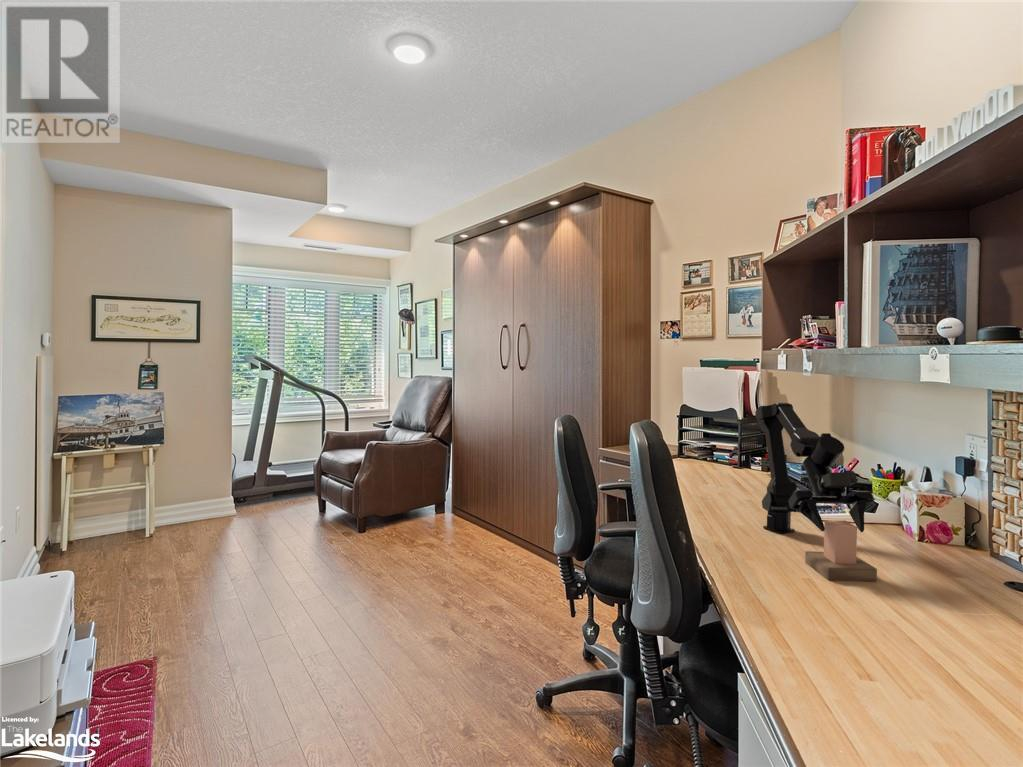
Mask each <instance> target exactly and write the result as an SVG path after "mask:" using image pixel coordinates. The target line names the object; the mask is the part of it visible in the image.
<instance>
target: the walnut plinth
mask: <svg viewBox="0 0 1023 767" xmlns="http://www.w3.org/2000/svg"><path fill="white" fill-rule="evenodd" d="M804 556H805V557H804V559H805V561H804V563H805V564H806V565H808V566H809V567H810V568H812V569H813V570H814V571H815V572H817V573H818V574H820V575H821V577H823V578H825V579H826V580H827V581H841V582H842V581H843V582H847V581H848V582H877V581H878V578H877V577H878V568H876V567H875V566H873V565H871V564H869V563H868V562H867V561H865V560H863V559H862V558H860V557H858V556H857V555H856V564H842V563H834V562H832V561H831V560H829V559H828V558H826V557H825V556H824V551H815V550H814V551H811V550H807V551H805V555H804Z"/></svg>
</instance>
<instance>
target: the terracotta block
mask: <svg viewBox="0 0 1023 767" xmlns="http://www.w3.org/2000/svg"><path fill="white" fill-rule="evenodd" d="M823 524H824V528H825V530H824V531H823V552H824V556H825V557H826V558H828V559H829V560H831V561H832V562H834V563H842V564H856V556H857V548H858V547H857V546H858V545H857V544H858V540H857V539H858V528H857V526H856V525H854V524H852V523H850V522H848V521H847V520H829V519H827V520H826V519H825V520H824V522H823Z"/></svg>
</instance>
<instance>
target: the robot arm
mask: <svg viewBox="0 0 1023 767" xmlns="http://www.w3.org/2000/svg"><path fill="white" fill-rule="evenodd" d="M793 406H794V405H792V403H789V402H775V403H773V404H769V405H759V407H758V408H757V409H756V410H755V413H754V414H755V419H756V421H757V424H758V428H759V429H760V430H761V431H762V432H763V433H764V435H765V436H764V437H765V443H766V451H767V458H768V464H769V472H770V473H769V474H770V481H769V482H768V484H767V487H766V494H764V497H763V498H762V499H761V506H762V509H764V510H765V511H767V515H766V525H763V527H762V528H763V529H766V530H769V531H771V532H775V533H776V534H782V535H783V534H787V533H794V532H795V531H796V530H795V528H791V519H792V518H791V516H792V514H791V513H800V514H801V515H802V516H804V517H805V518H807V519H808V520H809V521H810V522H811V523H812V524H813V525H814V526H816V527H817V528H818V530H820V531H821V532H824V530H825V528H824V522H823V520H822V517H821V514H820V512H819V509H818V505H817V504H824V505H827V504H828V505H846V507H847V509H849V510H848V513H849V515H850V517H851V518H852V520H853V522H854V524H855V526H856V527H857V530H858V531H859V532H860V533H863V532H865V511H866V510H867V509H868V508H869V507H870V506H871V505H872V504H873V503H874V502H875V500H876V499H875V497H874V495H873V493H872V492H871V491H869V490H853V491H852V492H851V494H849V495H842V494H843V493H845V492H846V488H847V487H852V485H855V484H857V483H858V477H857V475H856V473H855V472H854V470H845V471H843V472H833V471H832V469H831V467H832V466H833V465H835V463H836V462H837V461H838V460H839V458H840V457H841V455H842V454H843V453H844V451H845V444H844V443H843V442H842V441H841V440H840V439H838V438H836V437H835V436H832V435H831V433H830V432H829V433H826V432H825V433H824V432H822V433H821V434H820V435H819V434H818V433H817V432H815V431H812V430H810V429H808V428H807V427H806V425H805V424H804V422H803V421H802V420H801V419H800V417H799V415H798V414H797V413H796V411H795V410H794V407H793ZM783 430H785V431H786V433H787V435H788V436H789V438H790V440H791V441H790V444H789V446H790V448H791V452H792V453H793V454H794V455H795V457H798V458H804V460H803V462H802V465H801V468H800V470H801V472H805V473H806V475H807V479H808V481H809V484H808V488H809V489H798V485H797V483H796V482H795V481H792V480H791V479H790V478H789V474H788V472H789V471H788V467H787V466H788V465H787V459H786V452H785V446H784V438H783V433H782V432H783ZM810 489H812V490H813V491H812V490H810Z"/></svg>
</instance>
